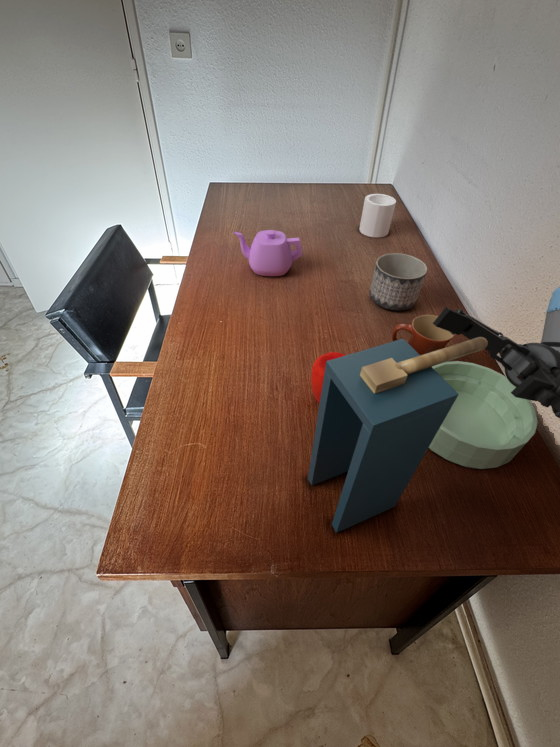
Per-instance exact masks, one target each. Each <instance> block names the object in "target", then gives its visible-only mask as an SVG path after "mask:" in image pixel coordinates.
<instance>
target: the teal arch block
mask: <svg viewBox="0 0 560 747" xmlns="http://www.w3.org/2000/svg"><path fill="white" fill-rule="evenodd" d="M345 355H346V356H342V357H339V358H336V359H332V360H329V361H326V366H325V373H324V379H323V385H322V392H321V398H320V403H318V411H317V417H316V422H315V423H316V424H315V431H314V436H313V441H312V443H313V444H312V448H311V455H310V462H309V469H308V475H307V480H308V482H309V484H310V485H311V486H315V485H317V484H320V483H322V482H324V481H328V480H330V479H331V478H334V477H337V476H339V475H342V474H344V473H347V474H346V477H345V480H344V483H343V487H342V490H341V493H340V496H339V498H338V503H337V506H336V509H335V513H334V516H333V519H332V521H331V522H332V523H331V526H332V527H333V528H332V529H334V532H335V533H340V532H342V531H344V530H346V529H349V528H351V527H353V526H355V525H357V524H359V523H362V522H364V521H366V520H369V519H371V518H372V517H376V516H377V515H380V514H381V513H384V512H386V511H389V510H391V509H392V508H395V507H396V505H397V504H398V502H399V500H400V498H401V497H402V495H403V493H404V492H405V490H406V488H407V486H408V484H409V483H410V481H411V479H412V478H413V475H414V474H415V472H416V471H417V469H418V467H419V465H420V464H421V462H422V460H423V458H424V456H425V454H426V453H427V451H428V449H430V448H429V446H430V444H431V442H432V441H433V439H434V437H435V435H436V434H437V432H438V430H439V428H440V427H441V425H442V423H443V421H444V419H445V418H446V416H447V414H448V412H449V411H450V409H451V407H452V405H453V404H454V402H455V400H456V399H457V397H458V395H459V394H458V393H457V392H456V391H455V390H454V389H453V388H452V387H451V386H450V385H449V384H448V383H447V382H446V381H445V380H444V379H443V378H442V377H441V376H440V375H439V374H438V373H437V372H436V371H435V370H434V369H433V368H432V367H429V368H426V369H423V370H420V371H417V372H414V373H411V374H408V376H407V379H406V381H405V384H402V385H399V386H396V387H393V388H390V389H387V390H384V391H382V392H379V393H376V394H374V393H373V391H372V390H371V389H370V388H369V386H368V385H367V384H366V383H365V381H364V380H363V379H362V378H361V376H360V373H361V369H362V367H364V366H367V365H370V364H373V363H377V362H380V361H383V360H386V359H390V358H393V360H394V361H395V362H396V363H398V362H401V361H405V360H408V359H411V358H414V357H417V356H420V355H419V354H418V353H417V352H416V351H415V350H414V349H413V348H412V347H411V346H410V345H409V344H408V341H406V340H405V338H401V339H397V341H393V340H392V341H390V342H386V343H383V344H380V345H376V346H374V347H370V348H367V349H363V350H360V351H356V352H353V353H349V354H345Z"/></svg>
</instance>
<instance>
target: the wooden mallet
mask: <svg viewBox="0 0 560 747" xmlns="http://www.w3.org/2000/svg"><path fill="white" fill-rule="evenodd" d="M487 345H488V342H487V340H486V339H485V338H483V337H477V338H474V339H471V340H470V339H468V340H465V341H462V342H459V343H455V344H452V345H449V346H445V348H443V349H439V350H436V351H433V352H430V353H427V354H424V355H420V356H417V357H414V358H411V359H408V360H405V361H401V362H398V363H396V362H395V361H394V360H393V358H390V359H386V360H383V361H380V362H377V363H373V364H370V365H367V366H364V367H362V369H361V373H360V376H361V378H362V379H363V380H364V381H365V383H366V384H367V385H368V386H369V388H370V389H371V390H372V391H373V393H374V394H376V393H379V392H382V391H384V390H387V389H390V388H393V387H396V386H399V385H402V384H405V381H406V379H407V376H408V374H411V373H414V372H417V371H420V370H423V369H426V368H429V367H432V366H435V365H438V364H441V363H444V362H450V361H454V360H456V359H459V358H461V357H464V356H467V355H472V354H474V353H477V352H480V351H483V350H486V349H485V348H486V347H487Z"/></svg>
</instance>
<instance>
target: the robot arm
mask: <svg viewBox="0 0 560 747" xmlns="http://www.w3.org/2000/svg"><path fill="white" fill-rule="evenodd" d="M437 316H438V317H437V319H436V320H435V321H434V322H433V324H434V325H435V326H436V327H439V328H441V329H444V330H447V331H449V332H450V333H451V334H453V335H454V334H455V335H457V336H460V335H462V336H464V337H465V338H466V339H468V340H471V339H474V338H477V337H483V338H485V339H486V340H487V342H488V345H487V347H486V348H485V349H484V350H486V351H487V353H488V355H489V356H490V357H491V358H492V359H493V360H495V361H497V362H498V363H499V364H500V365H502V367H503V368H504V375H505V377H507V379H508V380H509V382H510V383H511V384H512V385H514V386H515V387H516V388H515V389H514V390H513V391H512V392H511V394H513V395H514V396H515V397H517V398H522V399H527V400H530V401H531V402H538V403H540V405H541V406H542V407H545V408H549V407H551V410H552V413H553V415H554V416H555V417H557V418H558V419H560V286H559V287H557V288H555V289H554V290H553V292H552V294H551V297H550V298H549V303H548V305H547V310H546V312H545V319H544V325H543V330H542V335H541V340H540V342H527V343H524V344H522V343H517V342H515V341H514V340H513V339H510V338H509V337H507V336H505V335H504V334H503V333H502V332H501V331H497V330H496V329H494V328H492V327H490V326H488V325H487V324H485V323H483V322H482V321H480V320H478V319H477V318H475V317H474V316H472V315H470V314H469V313H467V312H465V311H464V310H463V309H461V308H457V309H456V310H453V309H451V308H449V307H446V306H445V308H444V309H443V310H442V312H441V313H440V314H439V315H437ZM498 354H499V355H498Z"/></svg>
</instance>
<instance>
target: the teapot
mask: <svg viewBox="0 0 560 747" xmlns="http://www.w3.org/2000/svg"><path fill="white" fill-rule="evenodd" d="M232 233H233V234H235V236H237V238H238V241H239V244H240V250H241V254H242V256H243V257H244V258H245V259H247V260H248V264H249V267H250V269H251V270H252V271H253V272H254V273H255V274H256V275H259V276H262V277H280V276H284V275H286V273H288V272H289V270H290V268H291V267H292V265H293V262H295V261H296V260H298V259H299V258H300V257H302V256H303V255H304V254H303V249H302V244H301V239H300V237H290V238H287V236H286V233H285V232H283V231H280V230H274V229H266V230H260V231H258V232H257V233H256V234H255V236H254V239H253V241H252V242H251V244H250V245H251V246H248V244H247V242H246V238H245V236H244V234H243V233H241V232H239V231H235V230H234V231H232ZM293 245H295V250H294V251H293V250H292V247H291V246H293Z"/></svg>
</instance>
